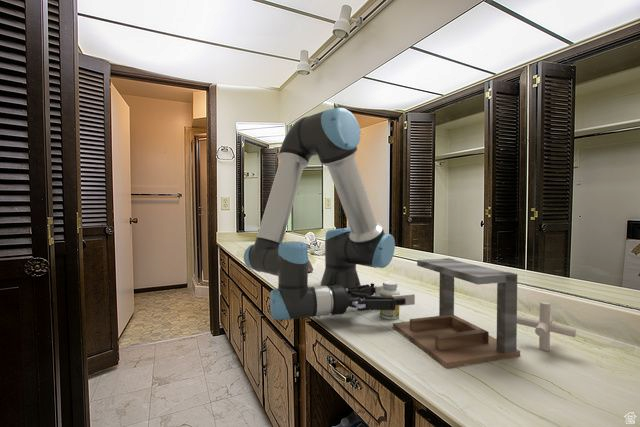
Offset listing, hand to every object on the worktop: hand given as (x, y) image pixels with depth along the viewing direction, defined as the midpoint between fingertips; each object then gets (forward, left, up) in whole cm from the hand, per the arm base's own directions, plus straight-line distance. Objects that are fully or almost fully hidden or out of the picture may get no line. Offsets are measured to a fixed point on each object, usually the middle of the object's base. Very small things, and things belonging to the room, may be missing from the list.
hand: (403, 294), depth 83 cm
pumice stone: (-67, -16, -6) cm, 69 cm away
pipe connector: (+26, +18, -6) cm, 32 cm away
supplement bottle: (0, -5, -6) cm, 8 cm away
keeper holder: (+17, +1, -6) cm, 18 cm away
